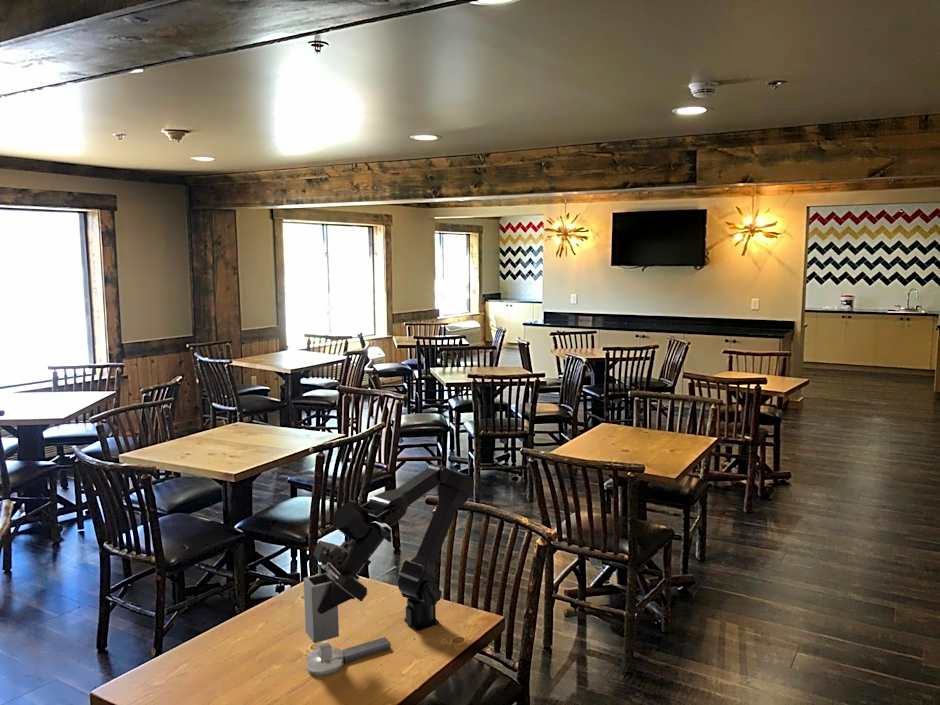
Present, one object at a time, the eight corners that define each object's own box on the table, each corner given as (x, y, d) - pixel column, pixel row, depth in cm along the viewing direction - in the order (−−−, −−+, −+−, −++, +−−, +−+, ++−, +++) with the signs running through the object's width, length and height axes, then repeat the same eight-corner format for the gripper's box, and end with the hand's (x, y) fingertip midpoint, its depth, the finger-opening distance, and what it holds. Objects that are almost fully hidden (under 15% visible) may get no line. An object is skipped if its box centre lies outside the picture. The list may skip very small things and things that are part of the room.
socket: (330, 625, 158) (328, 572, 157) (338, 636, 153) (336, 581, 152) (305, 632, 155) (303, 577, 154) (313, 643, 151) (311, 587, 149)
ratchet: (313, 679, 149) (312, 659, 149) (301, 662, 156) (300, 642, 156) (395, 654, 159) (395, 635, 158) (380, 638, 166) (380, 620, 165)
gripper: (322, 515, 162) (275, 572, 157) (351, 541, 146) (300, 606, 141) (355, 541, 166) (311, 597, 162) (387, 569, 150) (339, 632, 146)
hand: (315, 607), depth 153 cm, fingers closed on socket, 6 cm apart
